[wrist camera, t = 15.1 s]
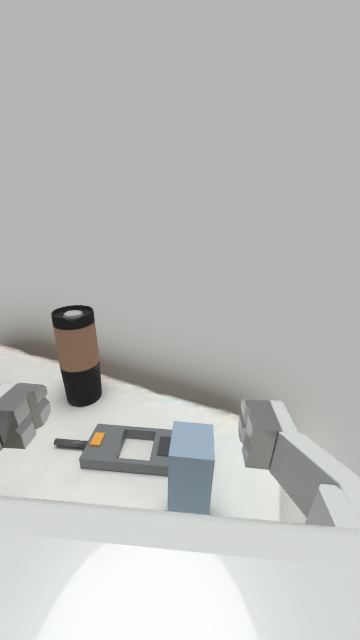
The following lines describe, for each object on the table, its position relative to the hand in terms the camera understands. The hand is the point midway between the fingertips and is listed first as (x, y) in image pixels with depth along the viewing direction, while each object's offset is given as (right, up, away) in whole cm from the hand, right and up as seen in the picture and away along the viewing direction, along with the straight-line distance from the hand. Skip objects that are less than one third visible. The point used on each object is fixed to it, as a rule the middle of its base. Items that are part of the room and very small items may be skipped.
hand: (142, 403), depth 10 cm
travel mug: (-20, -14, +43) cm, 49 cm away
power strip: (-7, -19, +30) cm, 36 cm away
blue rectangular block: (+3, -23, +21) cm, 31 cm away
